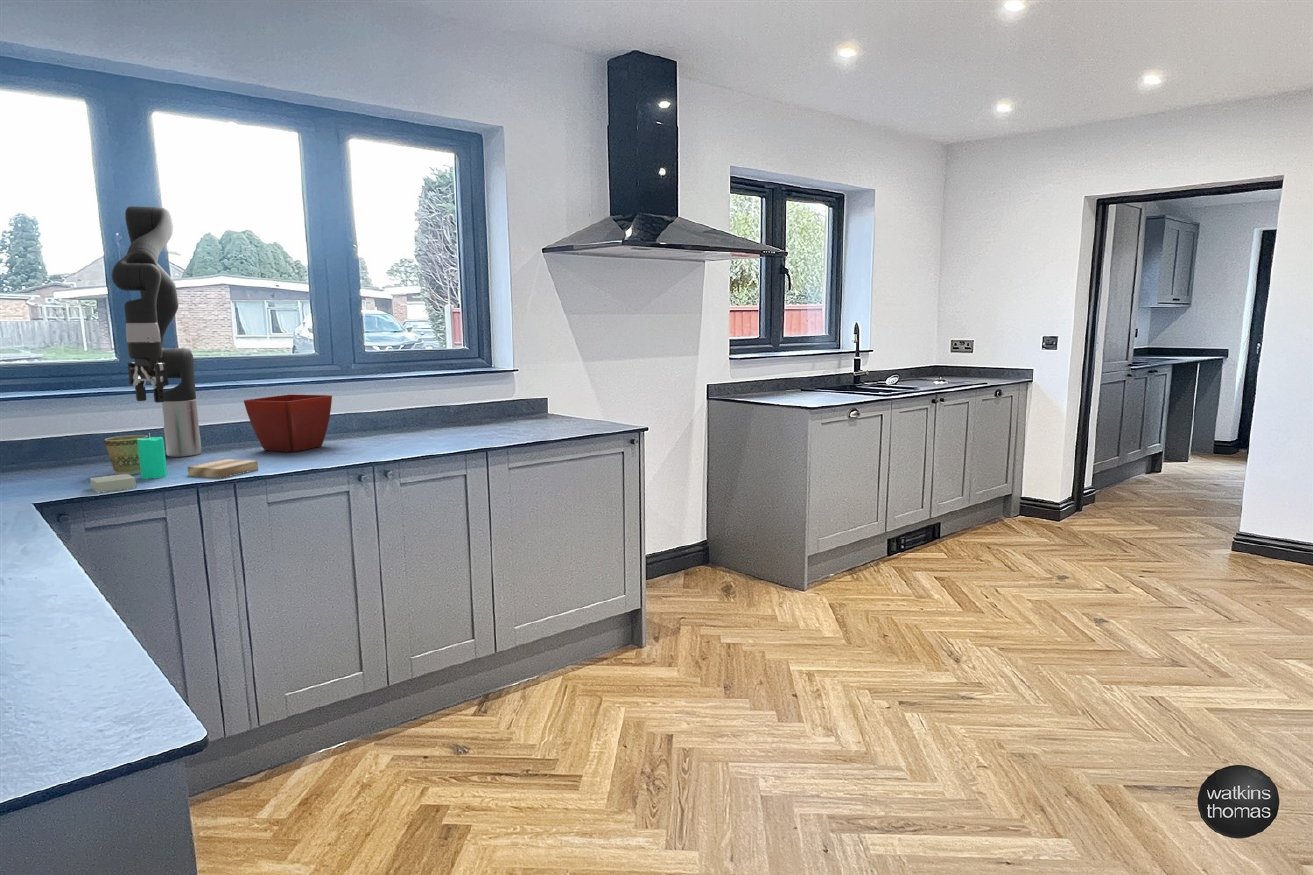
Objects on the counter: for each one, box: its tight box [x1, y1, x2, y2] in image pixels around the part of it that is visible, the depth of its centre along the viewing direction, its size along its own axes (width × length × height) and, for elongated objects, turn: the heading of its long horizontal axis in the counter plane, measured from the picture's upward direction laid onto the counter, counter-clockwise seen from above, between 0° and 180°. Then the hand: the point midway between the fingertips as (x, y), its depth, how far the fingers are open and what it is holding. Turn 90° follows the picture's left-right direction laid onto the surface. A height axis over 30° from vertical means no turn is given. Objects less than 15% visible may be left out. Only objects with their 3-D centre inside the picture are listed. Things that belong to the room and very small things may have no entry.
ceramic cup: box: [103, 434, 152, 476], centre depth 216 cm, size 13×10×10 cm
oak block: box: [187, 458, 259, 479], centre depth 215 cm, size 12×12×3 cm
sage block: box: [89, 474, 137, 493], centre depth 197 cm, size 8×8×3 cm
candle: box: [137, 432, 168, 480], centre depth 210 cm, size 6×6×12 cm
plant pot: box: [243, 393, 333, 453], centre depth 253 cm, size 19×19×17 cm
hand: (150, 401), depth 208 cm, fingers open, 8 cm apart
